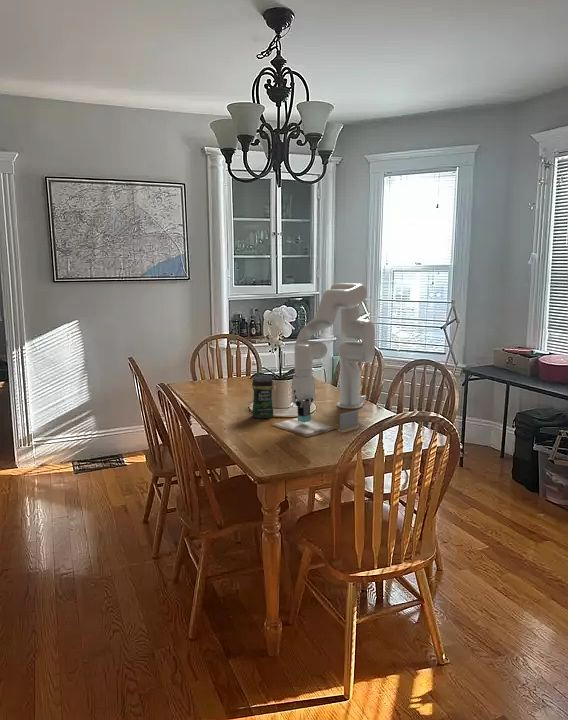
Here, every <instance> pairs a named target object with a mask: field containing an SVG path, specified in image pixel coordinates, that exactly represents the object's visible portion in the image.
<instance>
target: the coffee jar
mask: <svg viewBox="0 0 568 720" xmlns="http://www.w3.org/2000/svg"><path fill="white" fill-rule="evenodd" d="M251 388H252V389H253V401H252V410H251V411H252V412H251V413H252V417H253V418H256V419H270V418H272V417H274V405H273V388H274V382H273V378H272V376H253V378H252V384H251Z"/></svg>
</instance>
